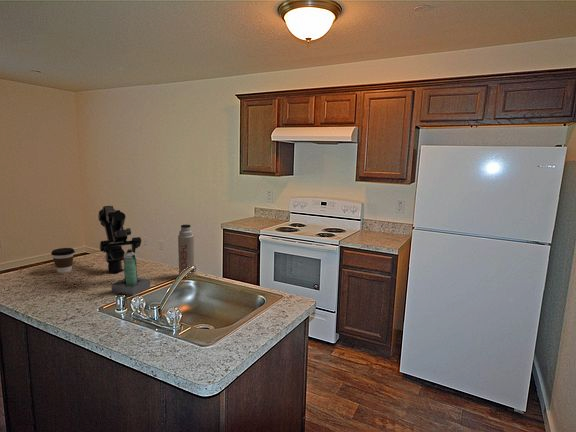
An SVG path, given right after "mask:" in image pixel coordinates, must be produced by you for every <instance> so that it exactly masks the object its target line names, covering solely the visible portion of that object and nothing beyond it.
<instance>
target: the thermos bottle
mask: <svg viewBox="0 0 576 432" xmlns="http://www.w3.org/2000/svg"><path fill="white" fill-rule="evenodd" d="M194 237H195V236H194V234H193V231H192V230H191V224H181V225H180V230H179V233H178V235H177V244H178V245H177V247H178V248H177V249H178V250H177V252H178V275H179V274H180V273H181V272H182V271H183V270H184V269H186V268H187V267H189V266H194V267H195V244H194V242H195V238H194ZM193 275H194V276H195V271H194V272H191V273H189V274H188V275H187V276H186V277H188V276H193Z"/></svg>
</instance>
